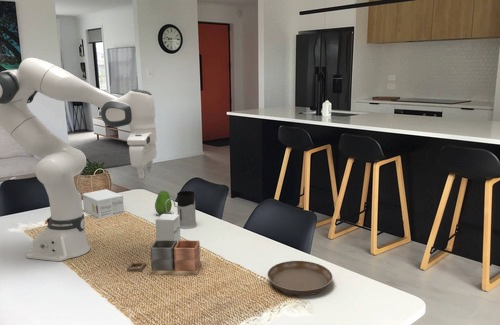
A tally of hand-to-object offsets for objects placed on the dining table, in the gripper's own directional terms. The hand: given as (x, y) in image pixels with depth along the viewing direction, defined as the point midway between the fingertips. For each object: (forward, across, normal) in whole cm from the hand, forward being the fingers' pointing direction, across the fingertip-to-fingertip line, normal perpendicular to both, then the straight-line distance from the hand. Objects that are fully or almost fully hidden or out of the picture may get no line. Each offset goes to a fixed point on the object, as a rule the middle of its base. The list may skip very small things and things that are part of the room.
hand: (145, 174), depth 157 cm
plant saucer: (+32, +19, +54) cm, 65 cm away
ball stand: (+31, +10, -2) cm, 33 cm away
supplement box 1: (+32, -53, -38) cm, 73 cm away
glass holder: (+31, -33, +5) cm, 46 cm away
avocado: (+31, -50, -7) cm, 59 cm away
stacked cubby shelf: (+31, +10, +12) cm, 35 cm away
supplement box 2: (+31, -9, +5) cm, 33 cm away
